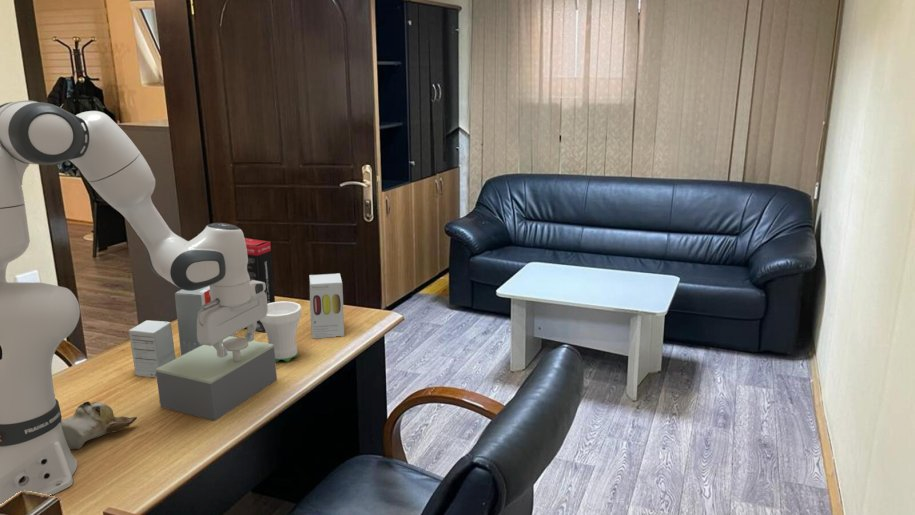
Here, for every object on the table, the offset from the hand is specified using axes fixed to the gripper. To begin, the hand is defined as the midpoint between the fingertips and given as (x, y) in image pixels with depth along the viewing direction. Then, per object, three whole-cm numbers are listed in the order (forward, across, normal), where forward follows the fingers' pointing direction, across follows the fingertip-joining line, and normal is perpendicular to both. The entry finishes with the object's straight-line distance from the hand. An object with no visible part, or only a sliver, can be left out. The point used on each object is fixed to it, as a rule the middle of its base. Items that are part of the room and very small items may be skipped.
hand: (236, 348), depth 158 cm
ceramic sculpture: (+13, -27, +17) cm, 34 cm away
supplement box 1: (+13, +3, +30) cm, 33 cm away
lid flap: (+4, 0, +5) cm, 6 cm away
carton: (+13, 0, +6) cm, 14 cm away
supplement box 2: (+14, +42, +4) cm, 45 cm away
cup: (+13, +22, +5) cm, 27 cm away
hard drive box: (+13, +17, +25) cm, 33 cm away
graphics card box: (+14, +38, +29) cm, 49 cm away
